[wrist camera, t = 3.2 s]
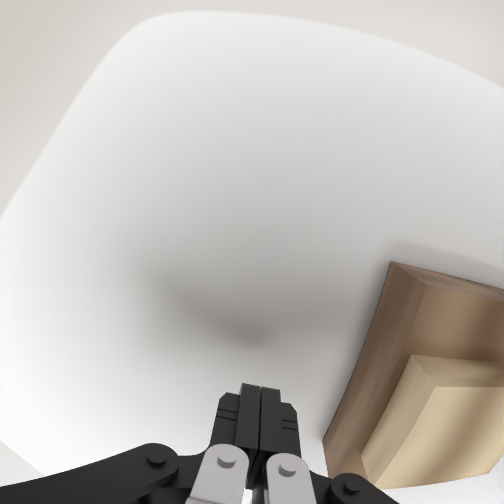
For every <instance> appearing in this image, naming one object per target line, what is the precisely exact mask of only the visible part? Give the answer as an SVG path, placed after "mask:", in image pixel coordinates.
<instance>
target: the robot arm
mask: <svg viewBox="0 0 504 504" xmlns="http://www.w3.org/2000/svg"><path fill="white" fill-rule="evenodd" d="M297 422H298V421H297V412H296V411H295V409H294V408H293V407H292V405H291V404H290V403H283V402H281V399H280V390H279V389H273V388H267V387H261V389H260V386H255V385H250V384H245V383H242V385H241V389H240V393H239V395H237V394H232V393H228V392H226V393H225V394H224V395H223V396H222V397H221V398H220V400H219V404H218V409H217V413H216V418H215V422H214V426H213V431H212V435H211V440H210V444H209V446H208V448H207V449H206V450H205V451H203V452H202V453H200V454H197V455H191V456H178V455H177V453H176V452H175V451H174V450H173V449H171V448H170V447H168V446H166V445H163V444H158V443H148V444H144V445H141V446H139V447H136V448H134V449H131V450H128V451H126V452H123V453H120V454H117V455H115V456H112V457H109V458H106V459H103V460H100V461H97V462H94V463H91V464H88V465H85V466H81V467H78V468H75V469H72V470H68V471H65V472H61V473H58V474H54V475H50V476H46V477H42V478H38V479H34V480H30V481H26V482H21V483H17V484H13V485H7V486H2V487H0V504H241V502H242V497H243V492H244V487H245V489H250V490H253V492H252V499H251V501H250V504H399V503H398V502H396V501H395V500H393V499H392V498H391V497H389V496H388V495H386V494H385V493H384V492H382V491H381V490H380V489H378V488H377V487H376V486H374V485H373V484H372V483H370V482H369V481H368V480H366V479H365V478H363V477H362V476H360V475H358V474H354V473H342V474H339V475H337V476H336V477H335V478H334V479H331V478H328V477H324V476H321V475H318V474H316V473H314V472H312V471H310V470H309V468H308V465H307V464H306V462H305V461H304V460H303V459H302V458H301V450H300V440H299V431H298V423H297ZM245 483H246V485H245Z"/></svg>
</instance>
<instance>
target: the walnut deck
mask: <svg viewBox="0 0 504 504" xmlns="http://www.w3.org/2000/svg"><path fill="white" fill-rule="evenodd" d="M411 355H420V356H429V357H439V358H450V359H462V360H476V361H492V362H504V289H500V288H496V287H492V286H488V285H484V284H480V283H476V282H473V281H469V280H465V279H461V278H457V277H453V276H449V275H445V274H441V273H437V272H432V271H428V270H424V269H420V268H416V267H412V266H408V265H404V264H399V263H395V262H391V264H390V267H389V270H388V274H387V277H386V281H385V284H384V287H383V290H382V294H381V297H380V300H379V303H378V306H377V309H376V312H375V315H374V318H373V321H372V324H371V327H370V329H369V332H368V335H367V338H366V341H365V343H364V346H363V349H362V351H361V354H360V356H359V359H358V362H357V364H356V367H355V369H354V372H353V374H352V377H351V379H350V381H349V384H348V386H347V389H346V391H345V393H344V396H343V398H342V400H341V402H340V405H339V407H338V409H337V411H336V414H335V416H334V418H333V420H332V422H331V424H330V426H329V429H328V431H327V433H326V435H325V437H324V439H323V441H322V443H323V448H324V454H325V459H326V465H327V471H328V476H329V478H331V479H334V478H335V477H336V476H337V475H339V474H342V473H354V474H358V475H360V476H362V477H363V478H365V479H366V480H368V478H367V475H366V472H365V468H364V465H363V461H362V458H361V455H360V454H361V452H362V450H363V449H364V447H365V445H366V444H367V442H368V440H369V438H370V437H371V435H372V433H373V431H374V430H375V428H376V426H377V424H378V422H379V420H380V419H381V417H382V415H383V413H384V411H385V409H386V407H387V405H388V403H389V401H390V399H391V397H392V395H393V393H394V391H395V389H396V387H397V385H398V383H399V381H400V378H401V376H402V374H403V372H404V370H405V367H406V365H407V363H408V360H409V358H410V356H411Z"/></svg>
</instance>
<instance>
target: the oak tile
mask: <svg viewBox="0 0 504 504" xmlns="http://www.w3.org/2000/svg"><path fill="white" fill-rule="evenodd" d="M503 454H504V362H492V361H476V360H462V359H450V358H439V357H429V356H420V355H411V356H410V358H409V360H408V363H407V365H406V367H405V370H404V372H403V374H402V376H401V378H400V381H399V383H398V385H397V387H396V389H395V391H394V393H393V395H392V397H391V399H390V401H389V403H388V405H387V407H386V409H385V411H384V413H383V415H382V417H381V419H380V420H379V422H378V424H377V426H376V428H375V430H374V431H373V433H372V435H371V437H370V438H369V440H368V442H367V444H366V445H365V447H364V449H363V450H362V452H361V454H360V455H361V458H362V461H363V465H364V468H365V472H366V475H367V478H368V481H369V482H370V483H372V484H373V485H374V486H376V487H377V488H378V489H392V488H404V487H413V486H422V485H429V484H436V483H442V482H448V481H454V480H459V479H464V478H469V477H473V476H478V475H482V474H486V473H489V472H490V471H491V470H492V468H493V467H494V466H495V464H496V463H497V462H498V461H499V459H500V458H501V457H502V455H503Z"/></svg>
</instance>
